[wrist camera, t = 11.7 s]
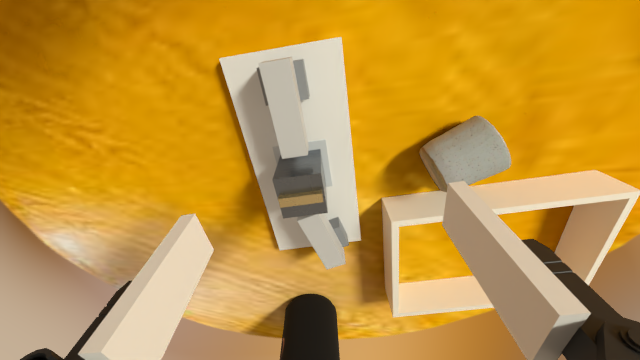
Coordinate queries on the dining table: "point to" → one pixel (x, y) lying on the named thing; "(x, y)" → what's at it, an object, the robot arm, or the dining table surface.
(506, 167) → the ceramic mug
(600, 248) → the tray
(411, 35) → the dining table surface
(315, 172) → the dark grey block
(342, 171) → the white base plate
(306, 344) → the coffee jar
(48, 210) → the dining table surface
